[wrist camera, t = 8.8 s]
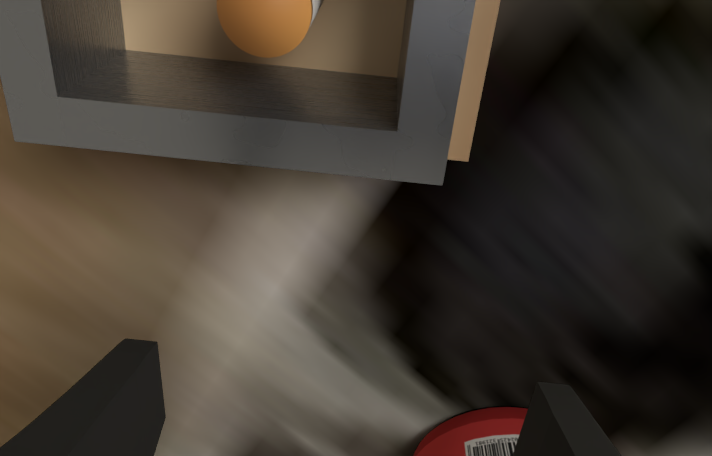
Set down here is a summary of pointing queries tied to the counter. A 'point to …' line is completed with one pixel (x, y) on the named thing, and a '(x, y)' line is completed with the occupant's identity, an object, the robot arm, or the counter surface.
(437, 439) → the canned food
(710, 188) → the counter surface
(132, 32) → the board
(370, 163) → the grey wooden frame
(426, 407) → the counter surface
